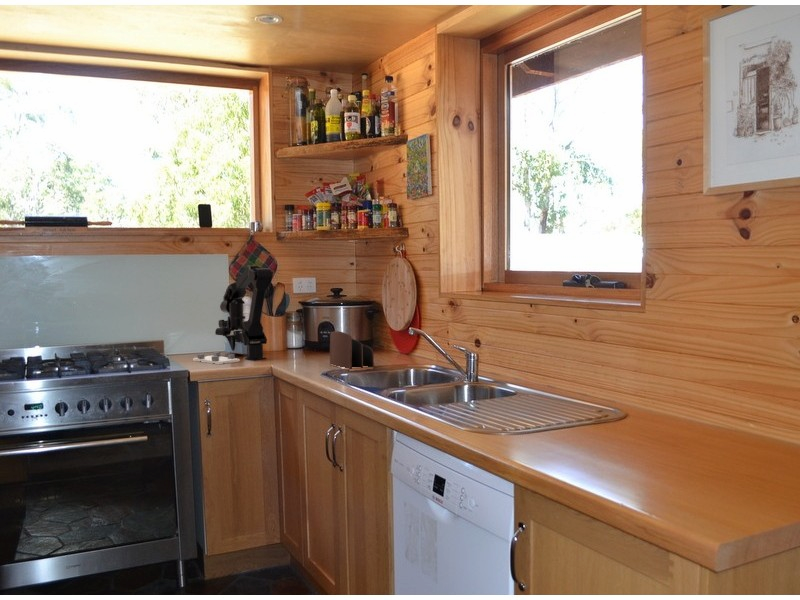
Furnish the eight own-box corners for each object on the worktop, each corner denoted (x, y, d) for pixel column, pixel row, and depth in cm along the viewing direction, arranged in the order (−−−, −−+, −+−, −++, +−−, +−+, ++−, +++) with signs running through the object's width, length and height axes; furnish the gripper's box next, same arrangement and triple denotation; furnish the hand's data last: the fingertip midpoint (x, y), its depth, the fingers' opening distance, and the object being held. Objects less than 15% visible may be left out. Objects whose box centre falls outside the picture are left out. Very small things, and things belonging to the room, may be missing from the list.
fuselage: (250, 352, 311) (250, 343, 310) (241, 353, 307) (241, 344, 307) (230, 350, 320) (230, 341, 319) (222, 351, 316) (222, 342, 316)
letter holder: (350, 372, 265) (349, 334, 264) (329, 365, 282) (328, 329, 281) (374, 370, 269) (373, 332, 268) (352, 363, 287) (352, 328, 286)
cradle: (239, 361, 294) (239, 354, 294) (219, 364, 287) (218, 357, 286) (213, 357, 306) (213, 351, 306) (193, 360, 298) (193, 353, 298)
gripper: (242, 311, 324) (243, 346, 325) (207, 314, 310) (208, 350, 311) (258, 312, 317) (259, 348, 318) (222, 316, 303) (223, 352, 304)
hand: (237, 349), depth 313 cm, fingers closed on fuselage, 4 cm apart
